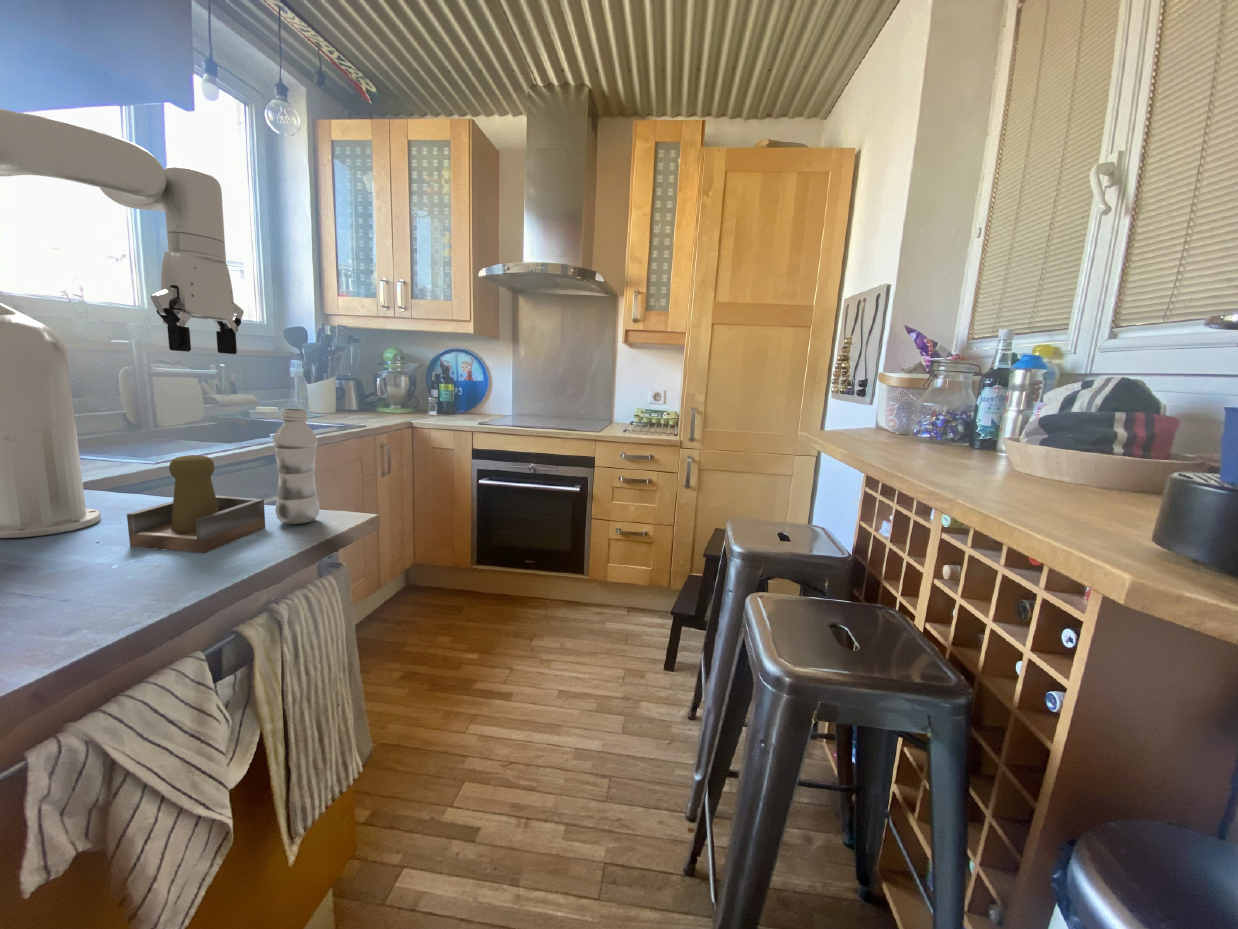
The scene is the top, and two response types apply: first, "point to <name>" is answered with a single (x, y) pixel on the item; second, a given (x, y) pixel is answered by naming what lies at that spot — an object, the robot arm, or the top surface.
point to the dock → (197, 526)
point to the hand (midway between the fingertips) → (205, 352)
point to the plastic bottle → (296, 468)
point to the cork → (192, 491)
